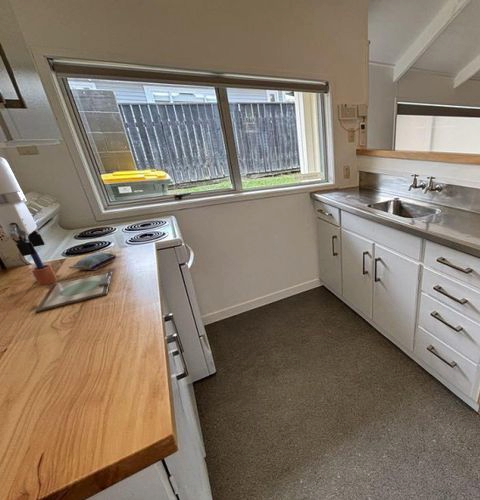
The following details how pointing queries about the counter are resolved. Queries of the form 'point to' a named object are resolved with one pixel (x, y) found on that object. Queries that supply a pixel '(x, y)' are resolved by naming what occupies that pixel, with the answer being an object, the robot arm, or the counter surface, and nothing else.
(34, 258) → the pen
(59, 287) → the clipboard
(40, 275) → the pen cup
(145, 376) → the counter surface
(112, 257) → the packaged food
